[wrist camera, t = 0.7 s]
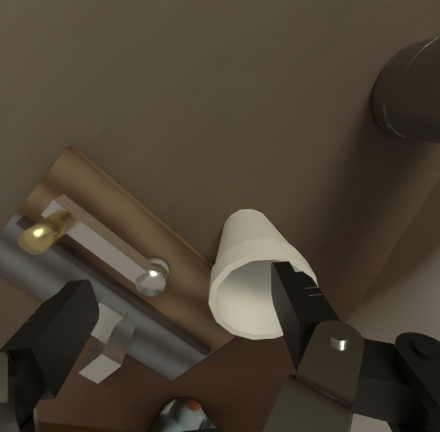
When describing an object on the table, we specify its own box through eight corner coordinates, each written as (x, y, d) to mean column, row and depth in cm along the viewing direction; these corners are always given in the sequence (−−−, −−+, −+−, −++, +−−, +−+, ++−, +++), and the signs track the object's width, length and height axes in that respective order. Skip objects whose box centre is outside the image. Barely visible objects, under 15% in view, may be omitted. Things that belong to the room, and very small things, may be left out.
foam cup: (201, 248, 34) (193, 323, 22) (226, 187, 31) (233, 237, 19) (264, 268, 36) (287, 349, 24) (294, 212, 32) (340, 274, 20)
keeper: (104, 296, 35) (81, 334, 29) (140, 321, 37) (126, 361, 31) (79, 318, 37) (53, 359, 31) (116, 341, 39) (97, 383, 33)
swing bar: (173, 274, 32) (163, 316, 26) (155, 290, 33) (140, 334, 27) (66, 190, 28) (21, 215, 21) (49, 211, 29) (0, 241, 22)
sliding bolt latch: (74, 145, 29) (60, 149, 26) (264, 308, 39) (267, 322, 36) (-13, 255, 34) (-31, 266, 32) (172, 372, 44) (170, 388, 42)
